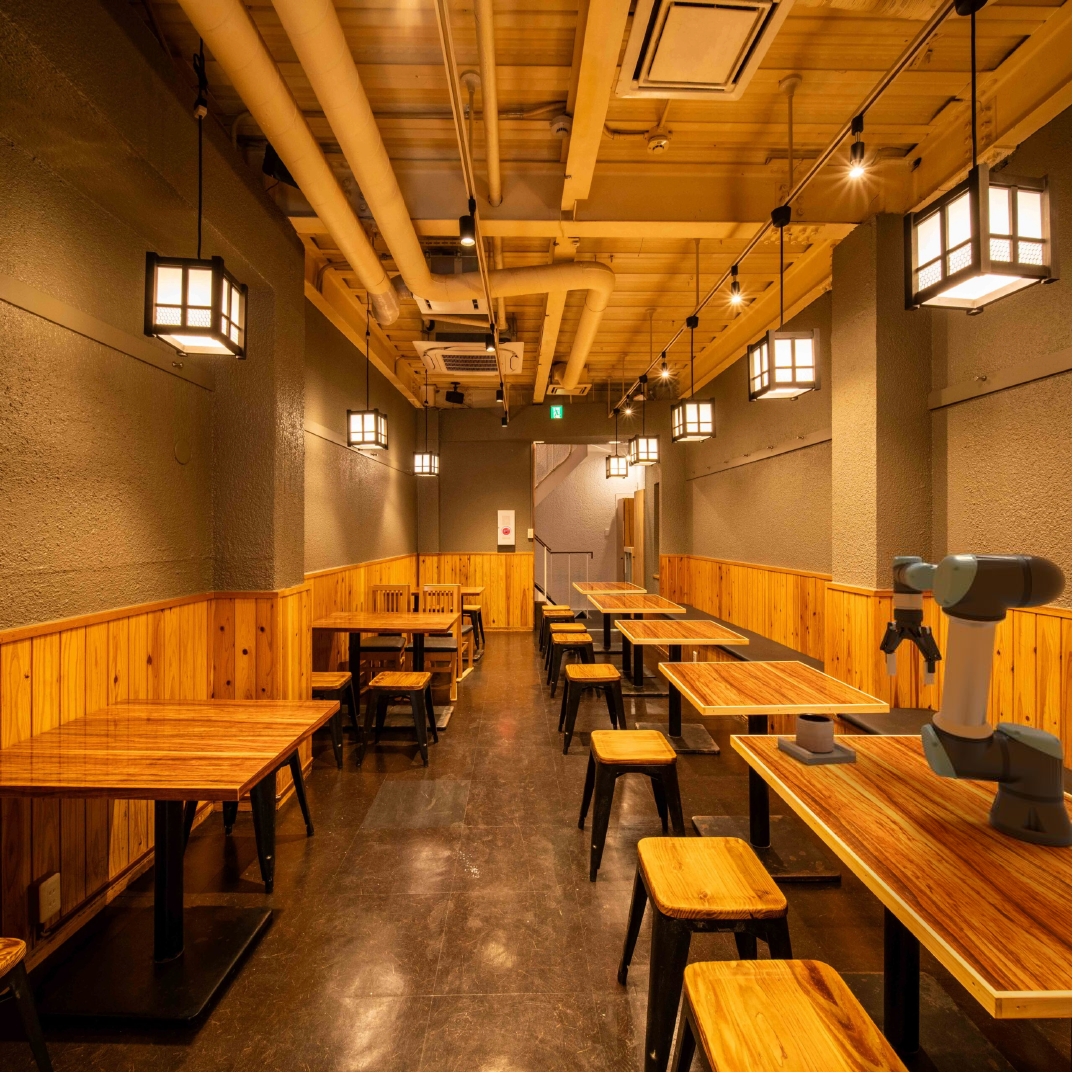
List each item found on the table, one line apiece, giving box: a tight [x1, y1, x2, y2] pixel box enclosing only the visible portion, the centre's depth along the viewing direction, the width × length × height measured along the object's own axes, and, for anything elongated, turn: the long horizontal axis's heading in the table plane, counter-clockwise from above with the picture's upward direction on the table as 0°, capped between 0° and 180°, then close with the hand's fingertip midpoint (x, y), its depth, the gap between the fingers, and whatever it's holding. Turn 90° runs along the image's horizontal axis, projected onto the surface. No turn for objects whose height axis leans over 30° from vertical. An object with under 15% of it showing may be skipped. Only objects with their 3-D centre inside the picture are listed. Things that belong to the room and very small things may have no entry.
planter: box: [795, 712, 835, 753], centre depth 186 cm, size 11×11×10 cm
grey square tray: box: [777, 736, 857, 766], centre depth 186 cm, size 16×16×3 cm
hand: (909, 679), depth 176 cm, fingers open, 13 cm apart
